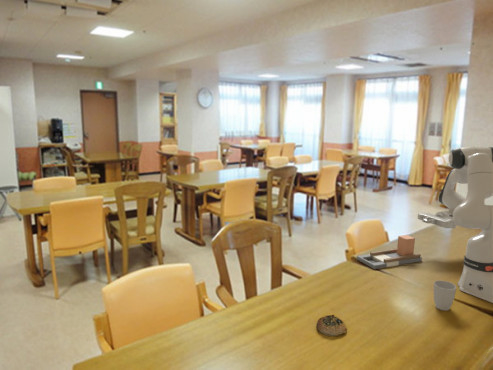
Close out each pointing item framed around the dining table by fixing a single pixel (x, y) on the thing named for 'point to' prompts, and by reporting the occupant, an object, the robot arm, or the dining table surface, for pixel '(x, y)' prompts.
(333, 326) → the bread roll
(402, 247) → the block
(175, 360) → the dining table surface
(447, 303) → the cup
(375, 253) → the tray
